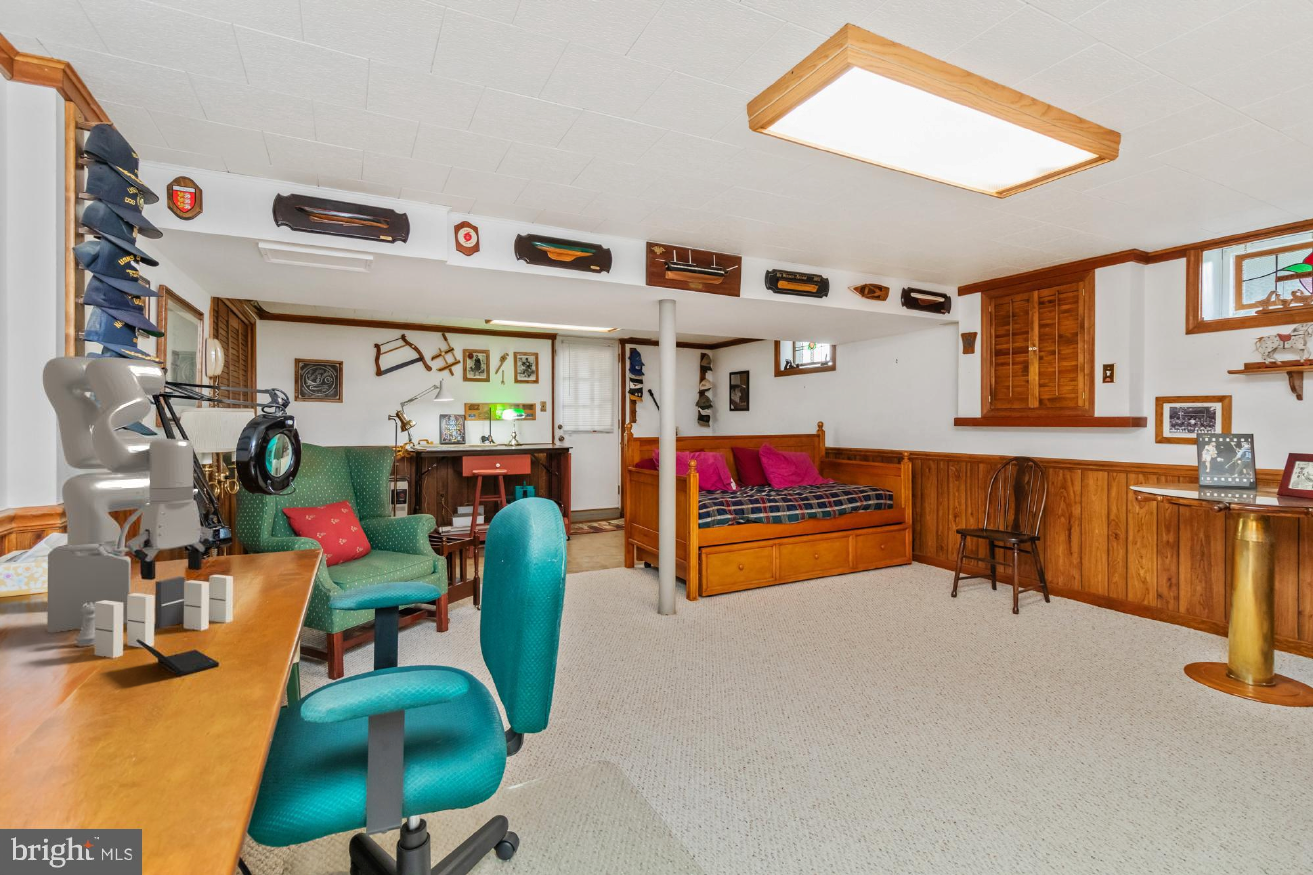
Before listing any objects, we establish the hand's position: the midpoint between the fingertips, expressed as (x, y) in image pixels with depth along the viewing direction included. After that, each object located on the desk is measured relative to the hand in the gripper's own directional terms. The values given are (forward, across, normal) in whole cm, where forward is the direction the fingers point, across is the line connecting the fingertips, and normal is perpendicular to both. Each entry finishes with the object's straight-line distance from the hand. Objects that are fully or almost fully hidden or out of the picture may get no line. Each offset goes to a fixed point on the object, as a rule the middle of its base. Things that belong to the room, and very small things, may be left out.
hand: (172, 574), depth 133 cm
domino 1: (+12, +16, +6) cm, 21 cm away
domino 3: (+11, 0, -1) cm, 11 cm away
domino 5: (+11, -6, +6) cm, 14 cm away
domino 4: (+11, 0, +6) cm, 13 cm away
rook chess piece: (+11, +13, -4) cm, 18 cm away
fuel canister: (+11, +4, -16) cm, 20 cm away
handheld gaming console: (+12, +16, +24) cm, 32 cm away
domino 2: (+12, +11, +6) cm, 17 cm away
